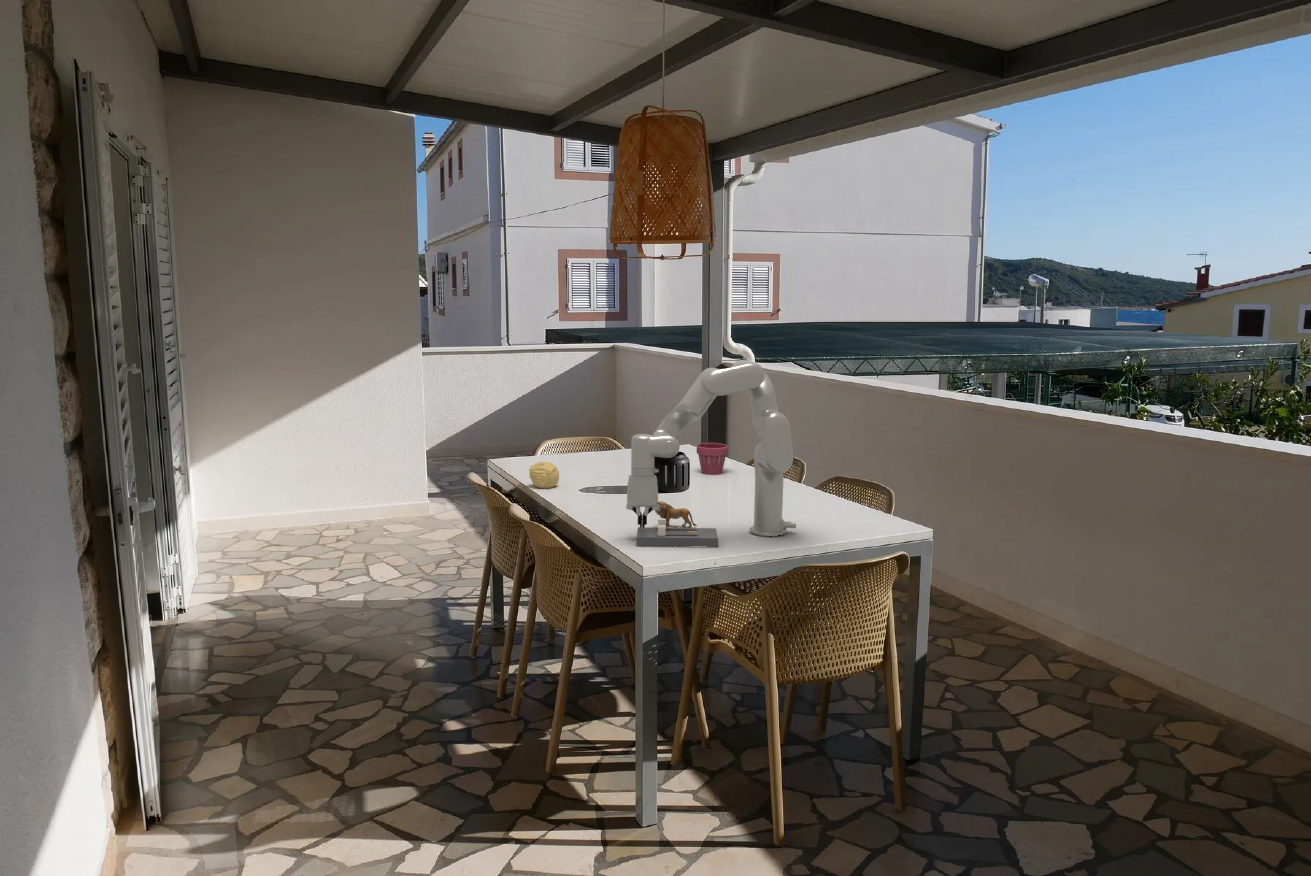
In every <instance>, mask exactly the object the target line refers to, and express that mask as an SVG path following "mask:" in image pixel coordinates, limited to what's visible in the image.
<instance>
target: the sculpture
mask: <svg viewBox="0 0 1311 876" xmlns="http://www.w3.org/2000/svg"><path fill="white" fill-rule="evenodd" d="M528 470H529V471H528V472H529V479H530V480H531V482H532V485H533V486H534V487H536V488H537V489H551V488H554V487H556V486H557V485H558V482H559V480H560V471H559V469H558V467H557V466H556V465H554V464H553V463H552V462H547V461H539V462H537V463H535V464H532V465H530V467H529V469H528Z"/></svg>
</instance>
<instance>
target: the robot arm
mask: <svg viewBox="0 0 1311 876" xmlns="http://www.w3.org/2000/svg"><path fill="white" fill-rule="evenodd" d="M745 391H746V392H747V393H748V396H749V401H750V407H751V415H752V416H751V418H752V427H753V429H754V432H755V433H756V434H757V435H758V436H760V437H762V438H763V439H762V441H760V442H759V443H757V445H756V446H755V448H754V451H753V452H754V453H753V464H754V501H753V502H754V505H753V507H754V508H753V525H752V526H750V527H749V529H748V532H749V533H750V534H752V533H753V534H752V535H754V534H756V535H755V536H758V535H759V536H758V537H769V536H772V537H779V536H778V535H781V536H784V535H786V534H787V529H796V528H797V522H792V521H785V520H784V519H783V505H784V504H783V502H784V501H783V500H784V473H786V472H787V471H789V470H790V469H791V467H792V465H793V463H794V448H793V438H792V431H791V426H790V422H789V420H788V418H787V417H786V416H785V415H784V414H783V413H782V412H779V410H778V404H777V397H776V396H777V395H776V393H775V387H774V385H773V383H772V380H771V378H770V377H769V376H768V374H767V373H766V372H765V370H764V368H763V367H762V366H761V364H758V363H757V362H753V361H750V360H745V359H741V360H736V361H735V362H734V363H732V366H731V367H728V368H727V367H726V368H721V369H720V368H716V367H708V368H706V369H703V370H702V372H700V374H699V375H698V376H697V378H696V380H695V381H694V382H693V384H692V385H691V386H690V388H689V390H687V392H686V394H685V395H684V396H683V398H682V399H681V400H680V402H679V403H678V404H677V405H676V406H675V407H674V408H673V409H672V410H671V411H670V412H669V413H668V414H667V415H666V416H665V417H664V418H663V420H662V421H661V422H660V424H659V425H658V426H657V428H656V430H655V431H654V432H653V434H647V433H637V434H634V435H633V436H632V437H631V445H630V446H631V453H630V455H631V456H630V458H631V459H630V461H631V465H630V466H631V467H630V469H631V471H630V474H629V475H628V480H627V490H626V491H627V492H626V507H625V508H626V510H629V511H632V512H634V514H635V515H636V516H637V525H638V526H639V527H640V528H641V527H643V528H645V526H647V525H648V524H647V523H648V515H649V514H650V513H651V512H653V511H654V512H655V510H658V509H659V506H658V501H659V484H658V476H657V475H655V474H659V469H660V468H656V467H655V457H656V458H664V459H667V458H668V459H669V458H673V457H675V456H676V455H677V454H678V453H679V451H680V446H681V445H680V442H679V440H678V439H677V438H678V436H680V434H681V433H682V432H683V431H684V429H686V427H688V426H689V425H690V424H693V423H695V422H697V421H698V420H699V419H701V418H702V417H703V415H704V414H705V413H706V412H707V410H708V409H709V407H710V406H711V405H712V403H713V402H714V400H715V399H716V398H717V396H719V397H720V396H722V397H723V396H728V395H733V394H738V393H743V392H745ZM641 508H644V511H643V513H642V511H641ZM785 533H786V534H785ZM783 534H784V535H783Z"/></svg>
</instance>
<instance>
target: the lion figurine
mask: <svg viewBox="0 0 1311 876" xmlns="http://www.w3.org/2000/svg"><path fill="white" fill-rule="evenodd" d="M658 506H659V509H658V510H654V512H655V514H656V515H658V516H660V518H661V519H662V520H666V528H670V520H671V519H673V520H678V519H680V518H682V520H683V521H684V523H682V524H681V526H682V527H685V526H686V525H687V524H688V526H687V528H693V527H692V525H693V526H694V527H697V526H698V525H697V524H696V523H694V520H693V517H692V513H691V511H690V510H689V509H687V508H684V507H683V508H674V507H673V506H672V505H670V504H668V503H667V502H664V501H662V500H660V501H659V500H658Z"/></svg>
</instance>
